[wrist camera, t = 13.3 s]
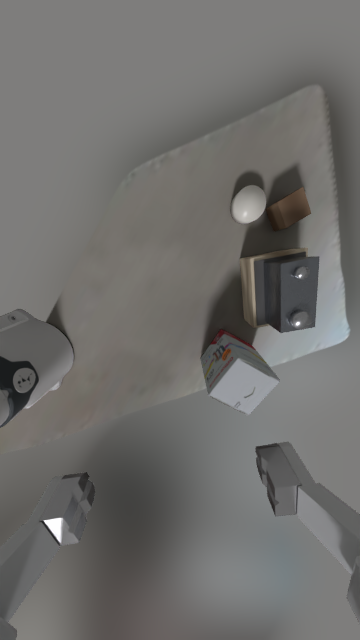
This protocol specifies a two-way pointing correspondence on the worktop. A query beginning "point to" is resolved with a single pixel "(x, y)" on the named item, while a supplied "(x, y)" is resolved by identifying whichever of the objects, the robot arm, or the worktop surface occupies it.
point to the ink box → (236, 373)
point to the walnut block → (288, 210)
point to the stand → (259, 283)
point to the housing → (291, 293)
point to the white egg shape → (248, 204)
